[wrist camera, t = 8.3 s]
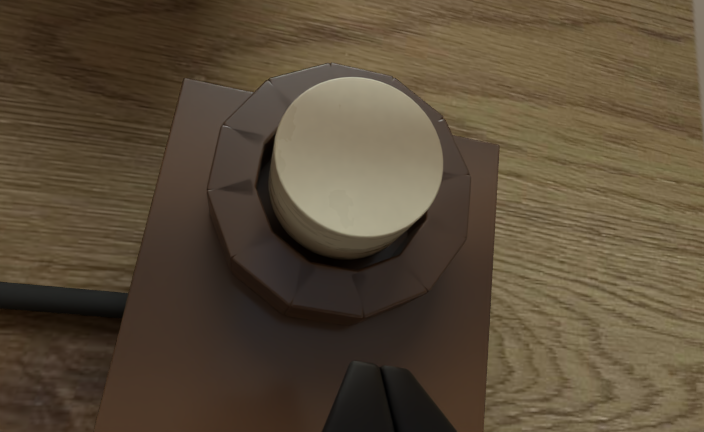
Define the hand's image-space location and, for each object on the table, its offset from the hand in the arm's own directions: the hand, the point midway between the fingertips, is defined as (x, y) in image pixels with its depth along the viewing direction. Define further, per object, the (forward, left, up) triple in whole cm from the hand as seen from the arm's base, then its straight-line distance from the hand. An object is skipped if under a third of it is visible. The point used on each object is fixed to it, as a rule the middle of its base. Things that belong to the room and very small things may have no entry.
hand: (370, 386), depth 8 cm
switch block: (+2, -1, -12) cm, 12 cm away
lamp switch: (+5, -2, -6) cm, 8 cm away
